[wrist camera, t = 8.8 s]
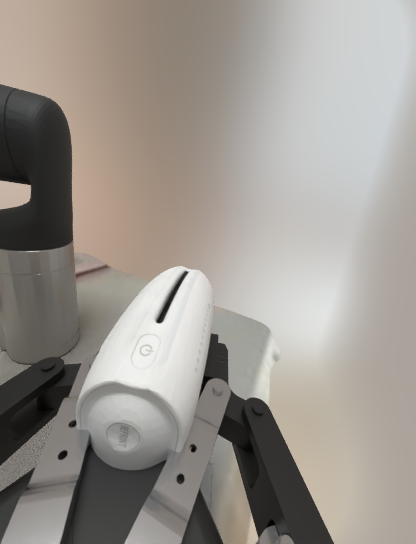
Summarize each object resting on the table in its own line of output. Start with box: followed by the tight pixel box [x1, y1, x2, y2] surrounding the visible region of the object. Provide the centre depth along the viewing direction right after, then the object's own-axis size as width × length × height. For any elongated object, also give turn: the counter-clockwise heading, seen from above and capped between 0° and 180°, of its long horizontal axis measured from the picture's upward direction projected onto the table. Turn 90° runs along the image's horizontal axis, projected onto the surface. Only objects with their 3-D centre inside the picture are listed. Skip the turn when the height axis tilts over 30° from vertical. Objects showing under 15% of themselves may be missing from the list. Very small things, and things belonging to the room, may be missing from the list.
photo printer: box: [76, 266, 214, 470], centre depth 12 cm, size 10×4×12 cm, turn 174°
